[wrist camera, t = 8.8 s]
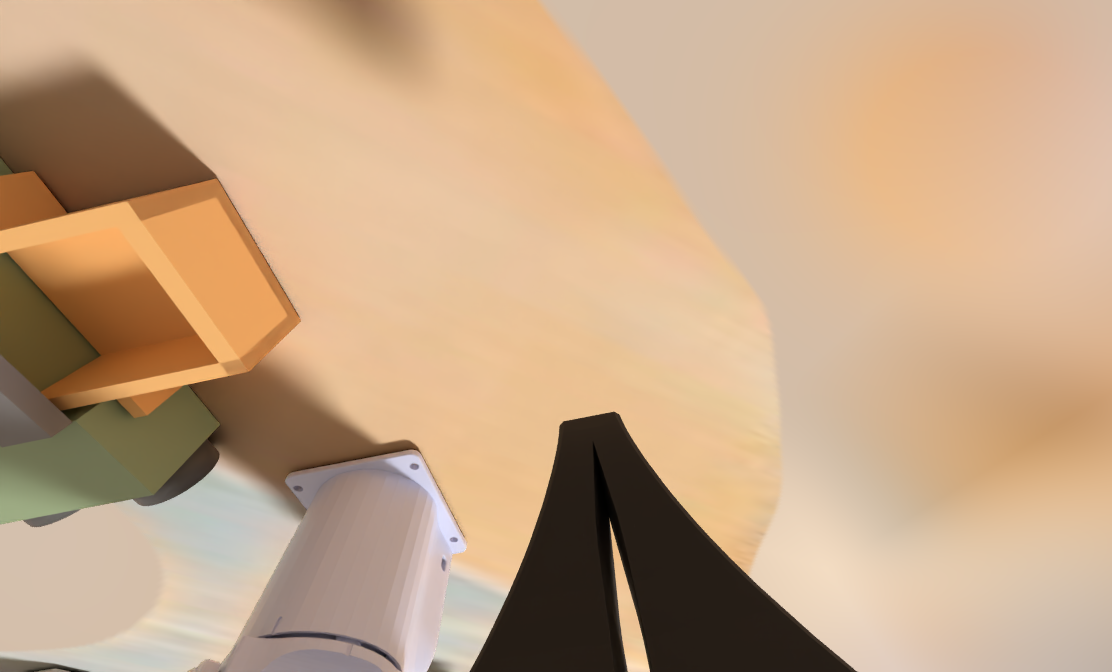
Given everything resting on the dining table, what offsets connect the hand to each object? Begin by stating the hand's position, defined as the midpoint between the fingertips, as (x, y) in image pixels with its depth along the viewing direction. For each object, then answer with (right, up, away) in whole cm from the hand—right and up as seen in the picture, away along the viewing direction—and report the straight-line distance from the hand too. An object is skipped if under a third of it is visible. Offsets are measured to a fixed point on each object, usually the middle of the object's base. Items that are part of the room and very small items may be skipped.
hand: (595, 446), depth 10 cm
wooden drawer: (-18, +5, +8) cm, 20 cm away
